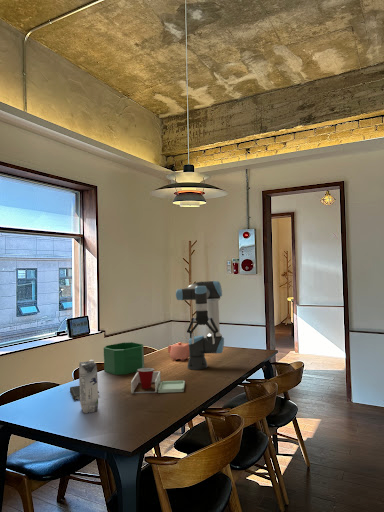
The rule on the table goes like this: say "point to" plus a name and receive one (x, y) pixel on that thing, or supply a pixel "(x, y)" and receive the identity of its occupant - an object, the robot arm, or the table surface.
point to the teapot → (179, 351)
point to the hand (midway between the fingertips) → (203, 343)
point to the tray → (171, 386)
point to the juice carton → (88, 386)
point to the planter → (123, 358)
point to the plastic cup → (146, 377)
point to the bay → (155, 378)
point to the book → (76, 392)
